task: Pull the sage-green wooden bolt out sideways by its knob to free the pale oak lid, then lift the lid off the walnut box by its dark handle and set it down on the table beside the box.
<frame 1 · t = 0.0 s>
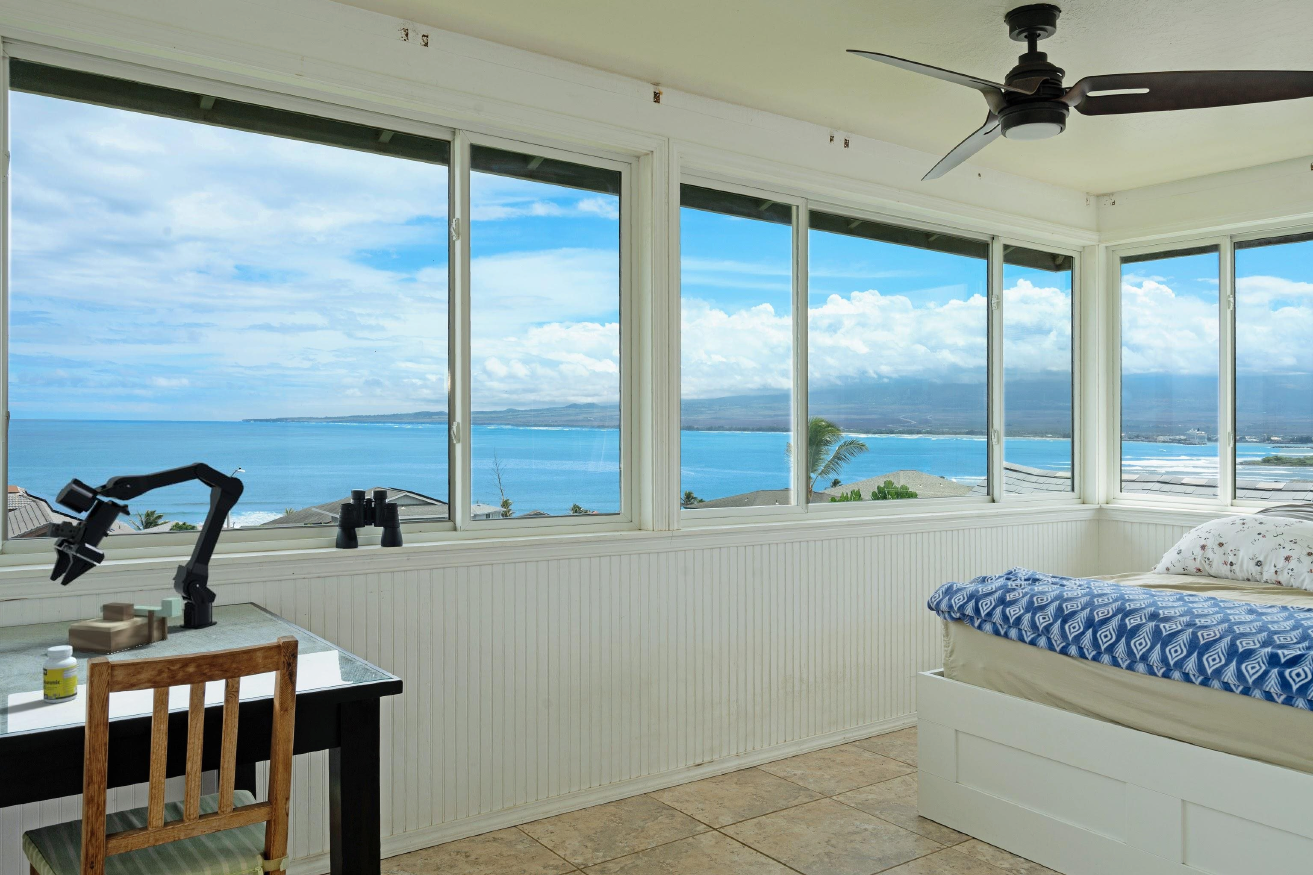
hand: (57, 582, 219), 15 cm above the table, tool tilted 35°, fingers open, 9 cm apart
box: (118, 644, 221), on the table
supplement bottle: (60, 700, 178), on the table
lid: (118, 623, 221), point 5 cm above the table, touching box
key: (140, 605, 225), point 8 cm above the table, slide at 0.0 cm
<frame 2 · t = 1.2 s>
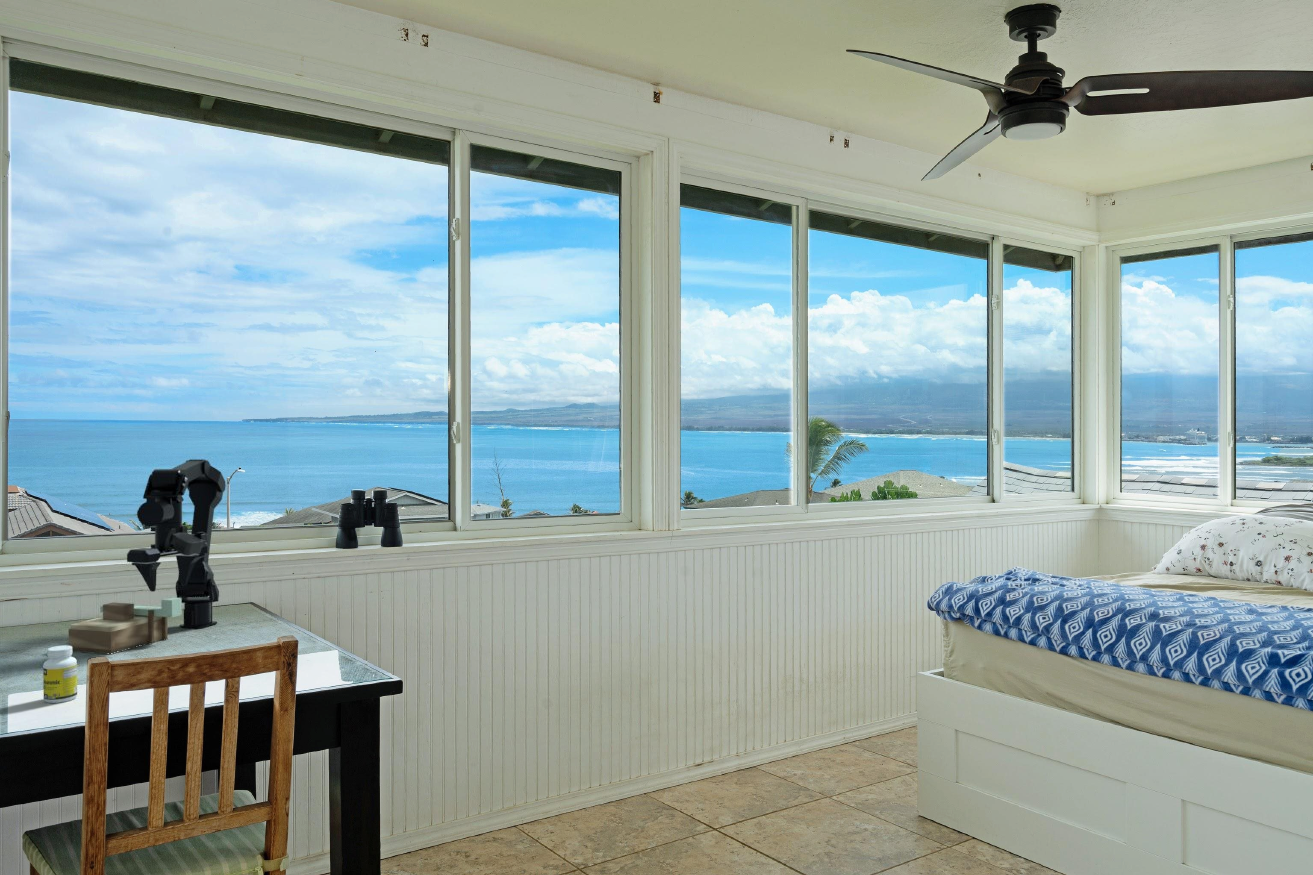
hand: (168, 588, 223), 13 cm above the table, tool pointing down, fingers open, 9 cm apart
nothing on the table moved.
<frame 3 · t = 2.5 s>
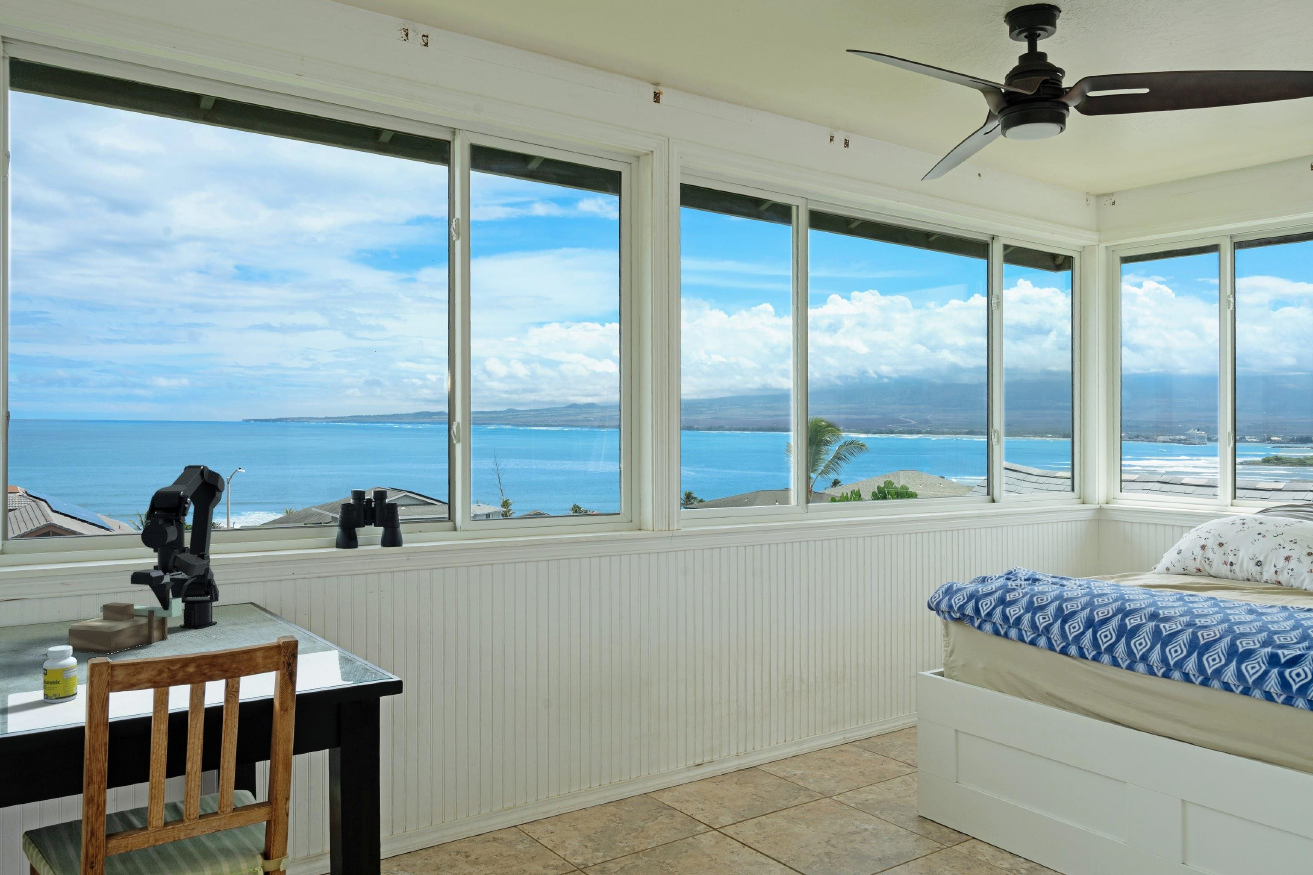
hand: (171, 608, 223), 8 cm above the table, tool pointing down, fingers closed on key, 3 cm apart
key: (140, 605, 225), point 8 cm above the table, slide at 0.0 cm, touching gripper
everything else where it was.
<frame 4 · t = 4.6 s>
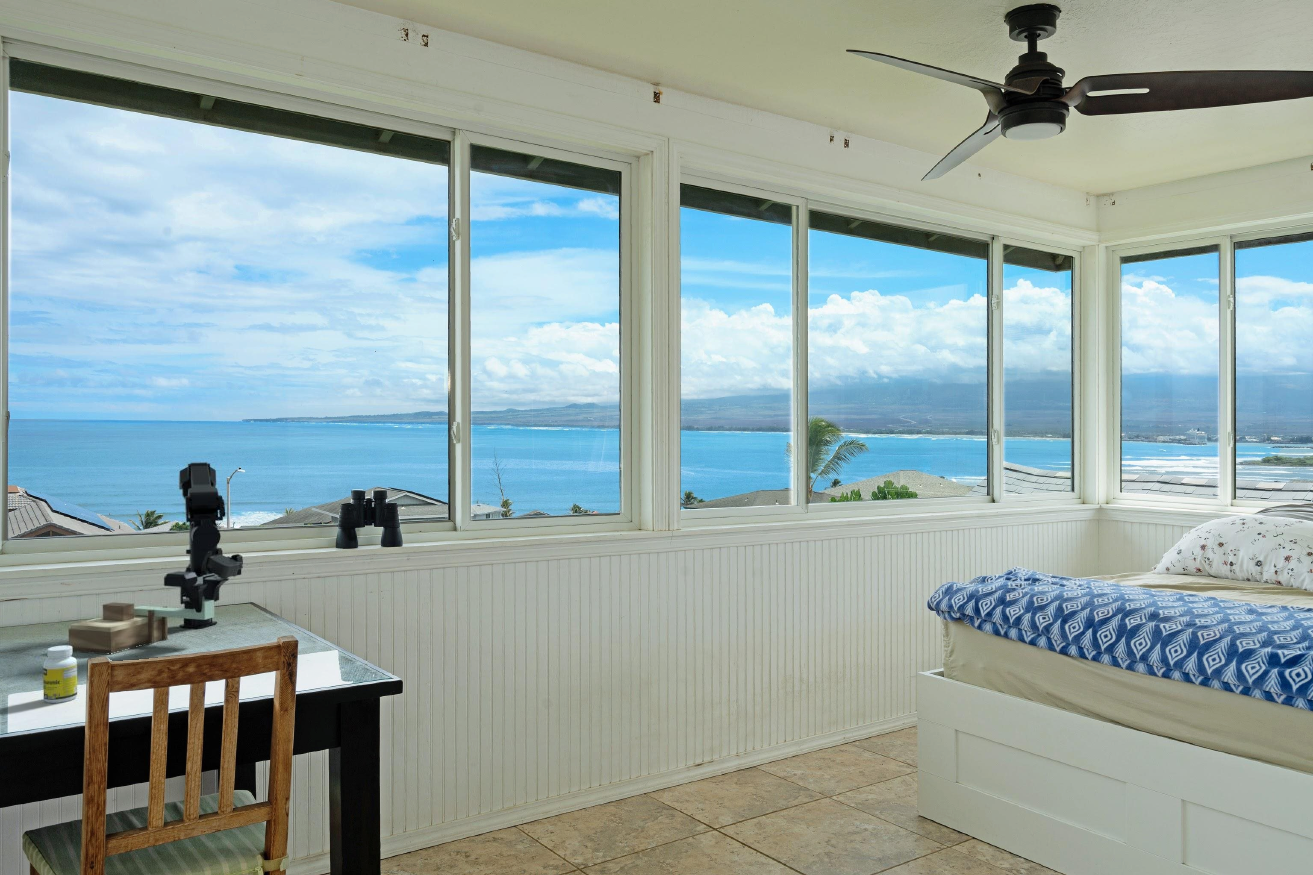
hand: (204, 611, 221), 8 cm above the table, tool pointing down, fingers closed on key, 3 cm apart
key: (172, 607, 223), point 8 cm above the table, slide at 9.3 cm, touching gripper
everything else where it was.
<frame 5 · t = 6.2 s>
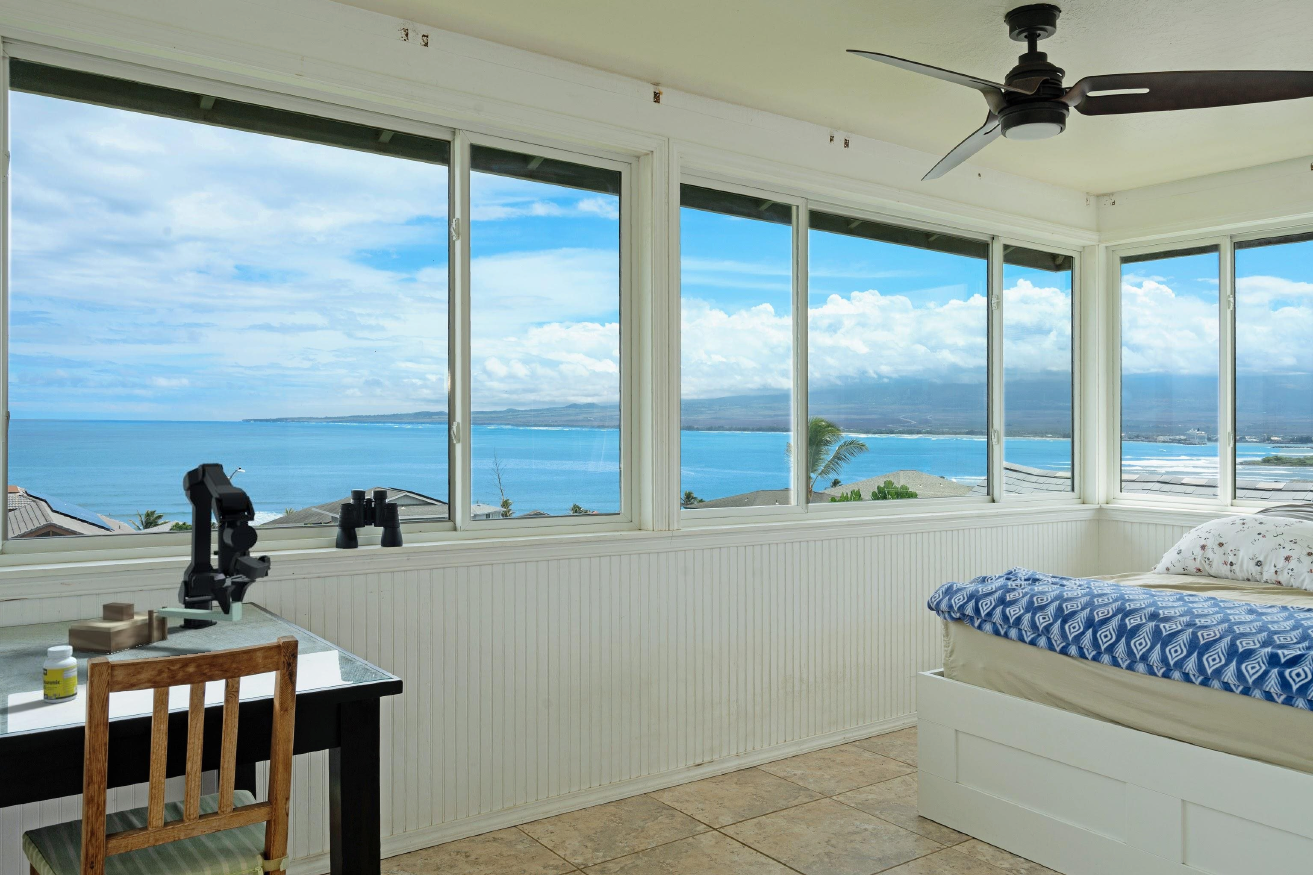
hand: (231, 612, 218), 8 cm above the table, tool pointing down, fingers closed on key, 3 cm apart
key: (199, 609, 221), point 8 cm above the table, slide at 16.9 cm, touching gripper
everything else where it was.
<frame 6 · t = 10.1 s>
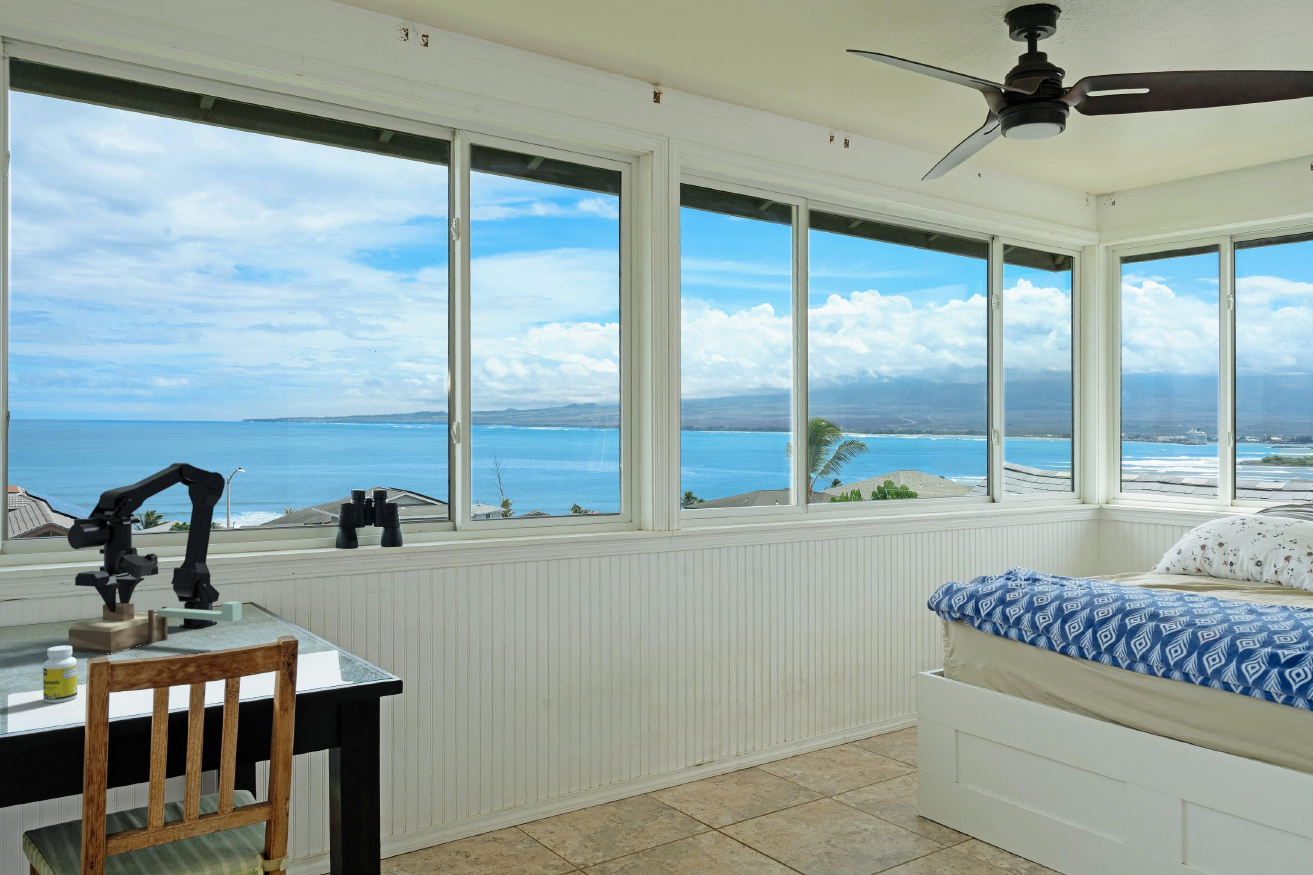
hand: (118, 610, 221), 8 cm above the table, tool pointing down, fingers closed on lid, 3 cm apart
lid: (118, 623, 221), point 5 cm above the table, touching box, gripper
key: (199, 609, 221), point 8 cm above the table, slide at 16.9 cm
everything else where it was.
when the fingers open (5 cm above the table, at t = 13.9 s): lid drops 2 cm, on the table.
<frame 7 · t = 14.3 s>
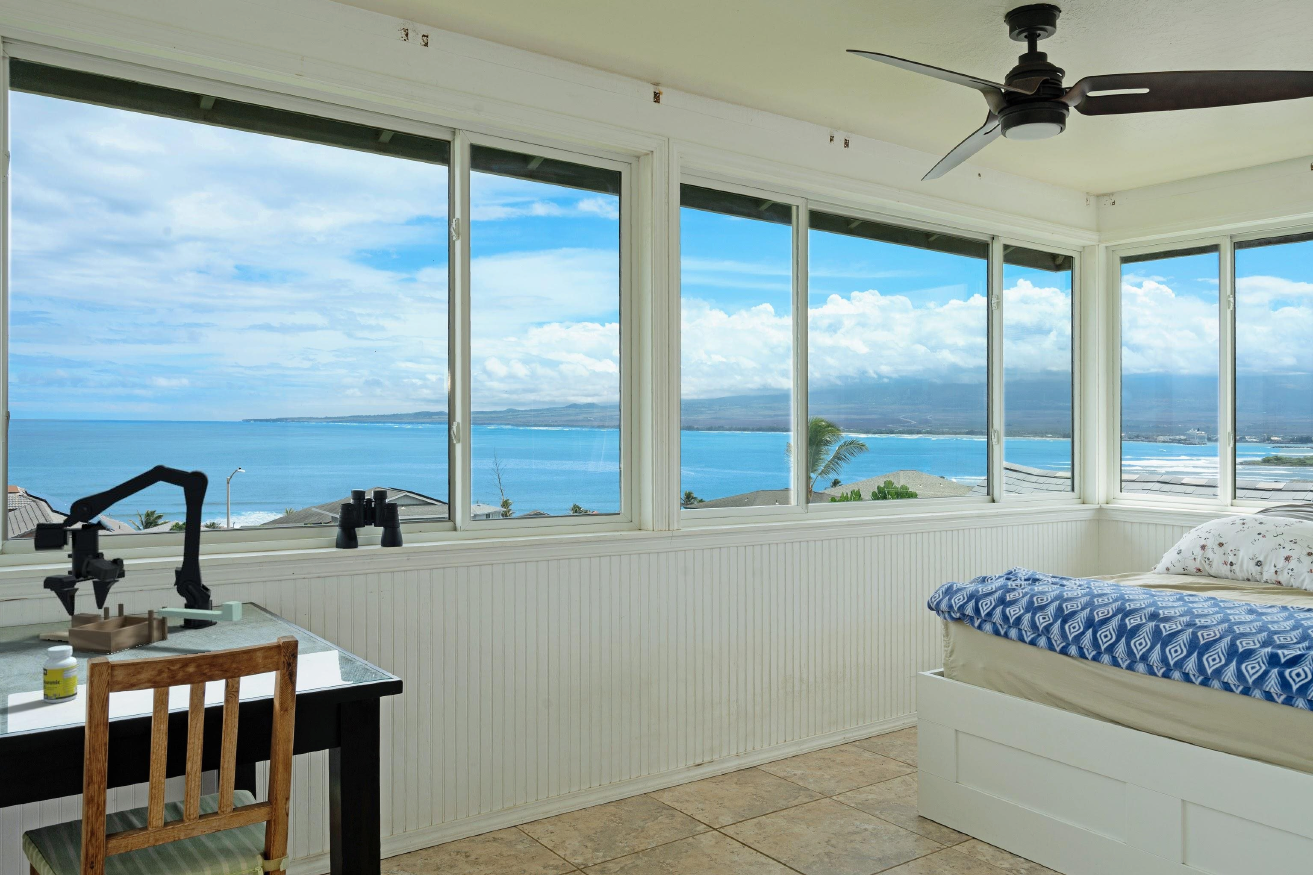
hand: (86, 612, 231), 5 cm above the table, tool pointing down, fingers open, 8 cm apart
lid: (86, 633, 231), on the table
everything else where it was.
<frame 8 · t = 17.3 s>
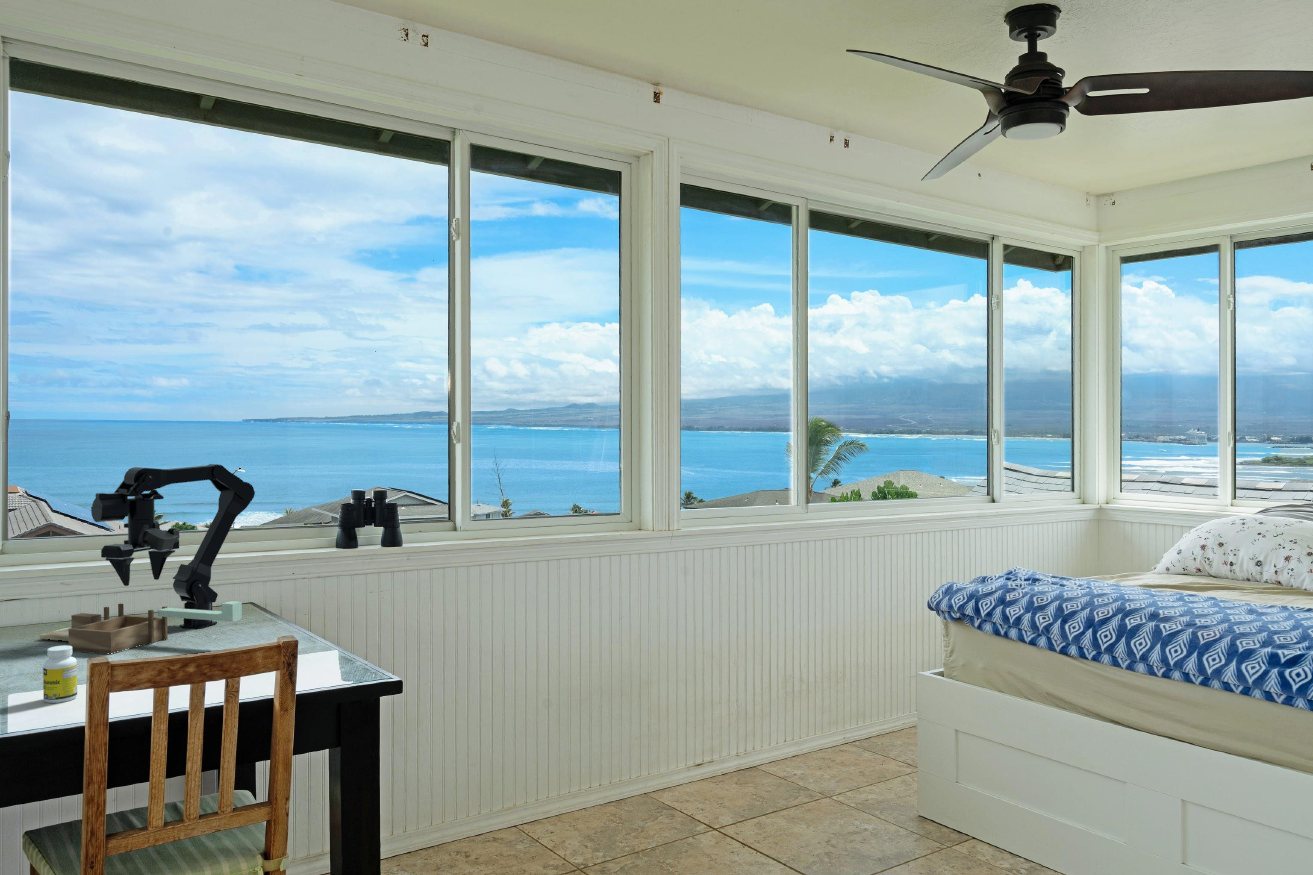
hand: (141, 582, 230), 13 cm above the table, tool pointing down, fingers open, 9 cm apart
nothing on the table moved.
at the end: key slide at 16.9 cm; lid inside the target area (0.1 cm from its centre), on the table; lid tilted 0° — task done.
